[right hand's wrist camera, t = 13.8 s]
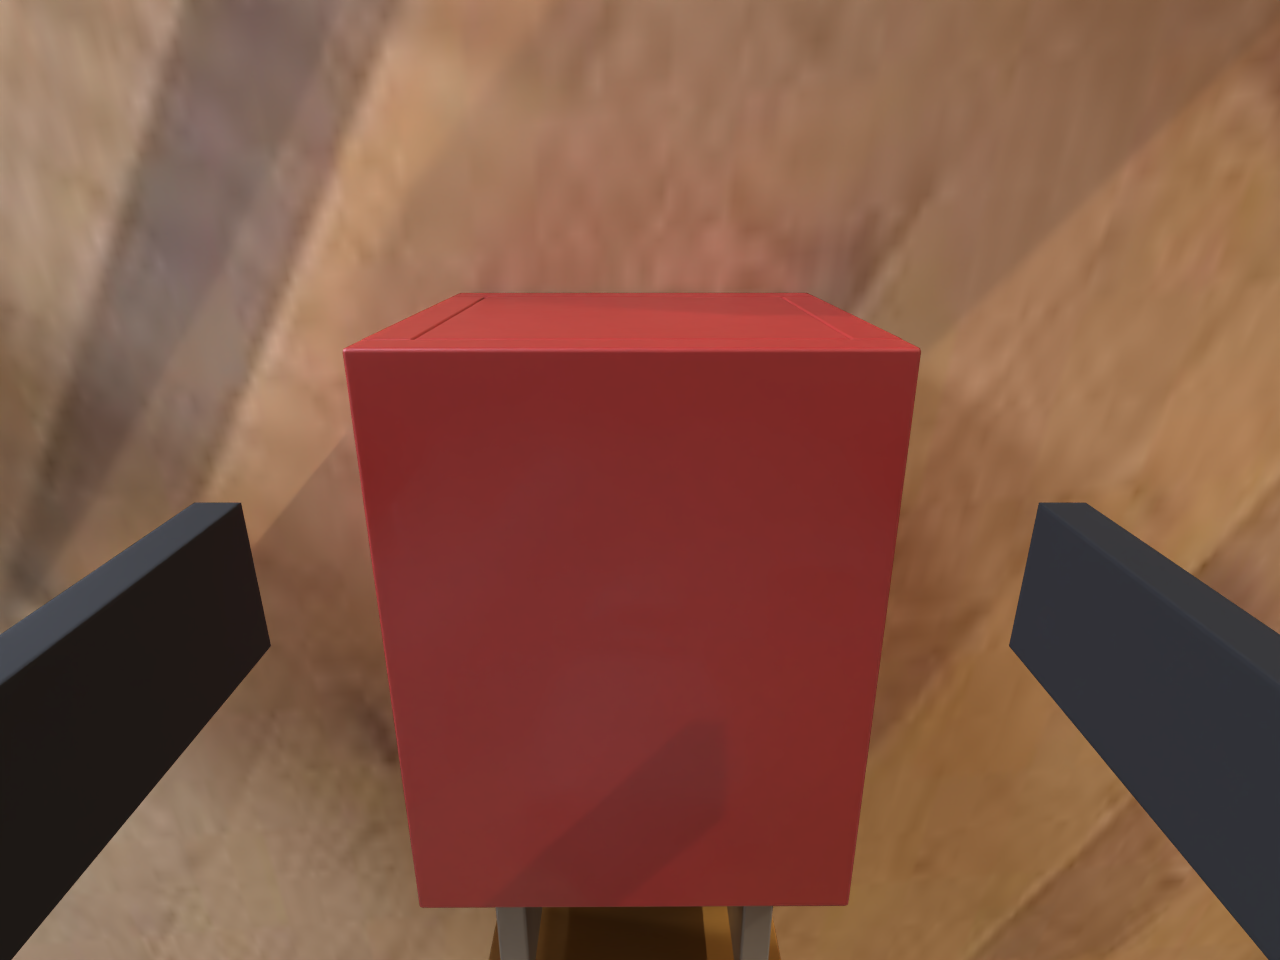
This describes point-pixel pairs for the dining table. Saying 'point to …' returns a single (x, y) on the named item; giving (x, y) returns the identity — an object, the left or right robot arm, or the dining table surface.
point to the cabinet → (632, 589)
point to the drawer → (635, 933)
